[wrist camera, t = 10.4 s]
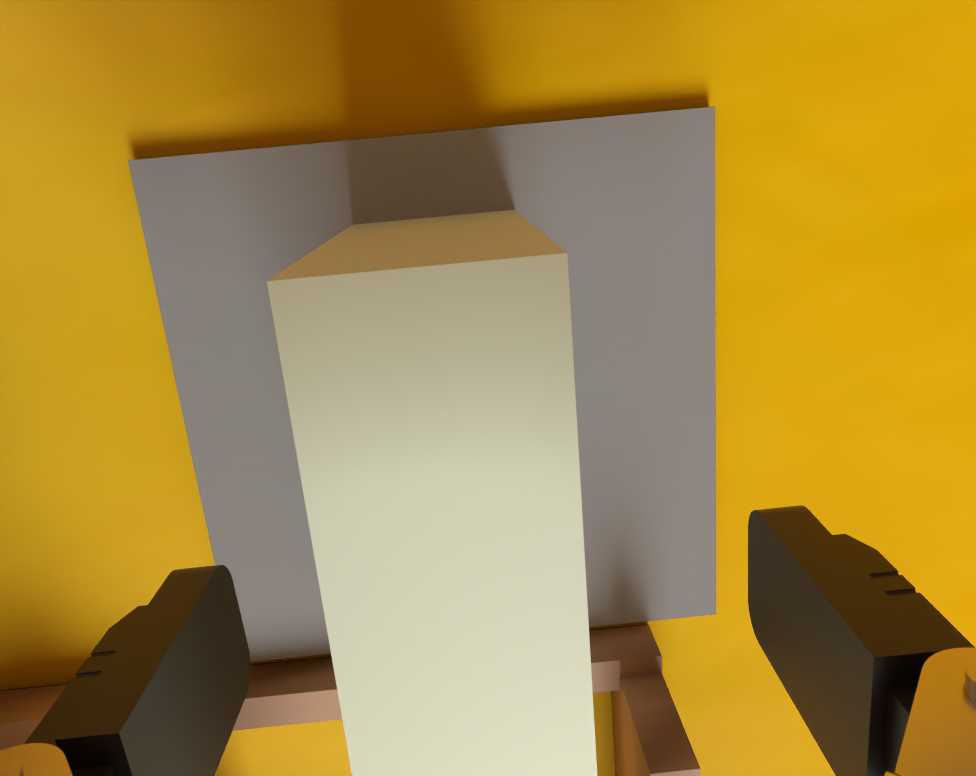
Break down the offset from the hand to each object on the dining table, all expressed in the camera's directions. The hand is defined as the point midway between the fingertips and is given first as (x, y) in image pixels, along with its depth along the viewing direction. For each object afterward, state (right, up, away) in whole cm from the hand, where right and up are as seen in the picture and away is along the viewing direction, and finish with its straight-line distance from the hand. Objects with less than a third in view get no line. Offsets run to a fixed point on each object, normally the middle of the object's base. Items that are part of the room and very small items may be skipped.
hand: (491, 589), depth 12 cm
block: (-1, +3, +8) cm, 9 cm away
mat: (-1, +3, +9) cm, 9 cm away
